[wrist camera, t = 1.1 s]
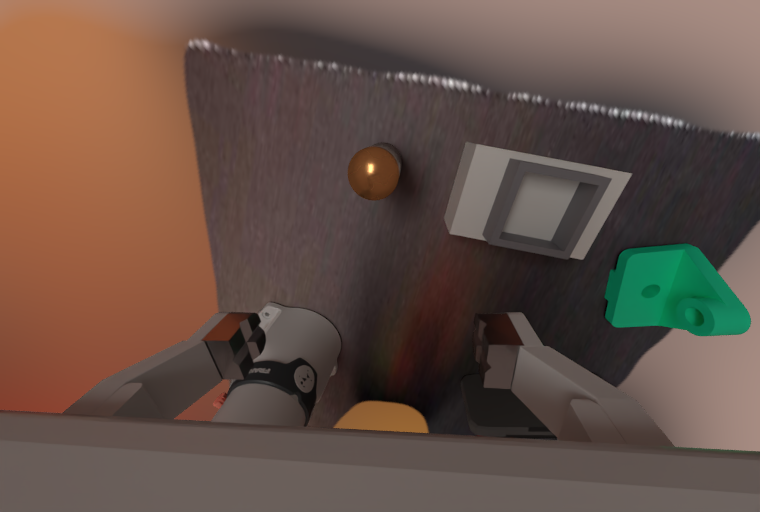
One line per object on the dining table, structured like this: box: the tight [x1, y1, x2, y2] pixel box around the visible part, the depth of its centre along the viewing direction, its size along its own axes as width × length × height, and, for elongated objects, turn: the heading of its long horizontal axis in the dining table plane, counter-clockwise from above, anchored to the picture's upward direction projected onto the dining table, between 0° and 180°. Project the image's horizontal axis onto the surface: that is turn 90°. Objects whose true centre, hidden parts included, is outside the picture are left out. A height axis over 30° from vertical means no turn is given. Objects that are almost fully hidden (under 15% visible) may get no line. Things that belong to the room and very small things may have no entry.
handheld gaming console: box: [461, 374, 557, 438], centre depth 44 cm, size 23×3×10 cm, turn 99°
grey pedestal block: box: [444, 142, 632, 260], centre depth 31 cm, size 16×10×9 cm, turn 80°
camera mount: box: [604, 243, 751, 336], centre depth 34 cm, size 12×8×10 cm, turn 9°
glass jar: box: [348, 142, 402, 200], centre depth 30 cm, size 5×5×10 cm
